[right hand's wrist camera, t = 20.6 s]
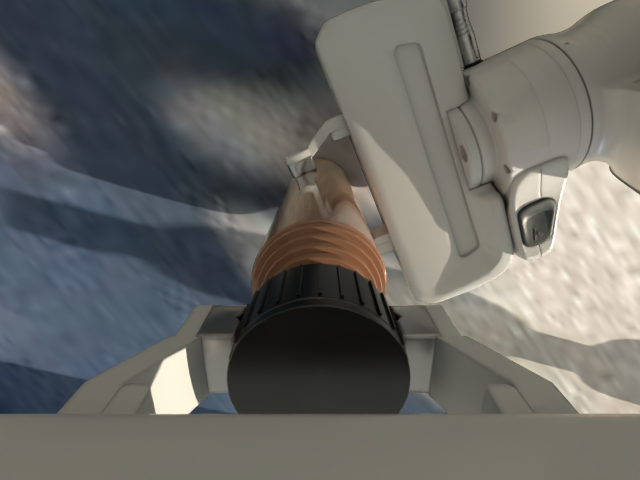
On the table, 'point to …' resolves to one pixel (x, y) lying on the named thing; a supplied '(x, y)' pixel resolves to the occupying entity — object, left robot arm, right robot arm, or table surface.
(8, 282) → the table surface
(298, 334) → the cap
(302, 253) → the bottle
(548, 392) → the right robot arm
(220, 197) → the table surface
